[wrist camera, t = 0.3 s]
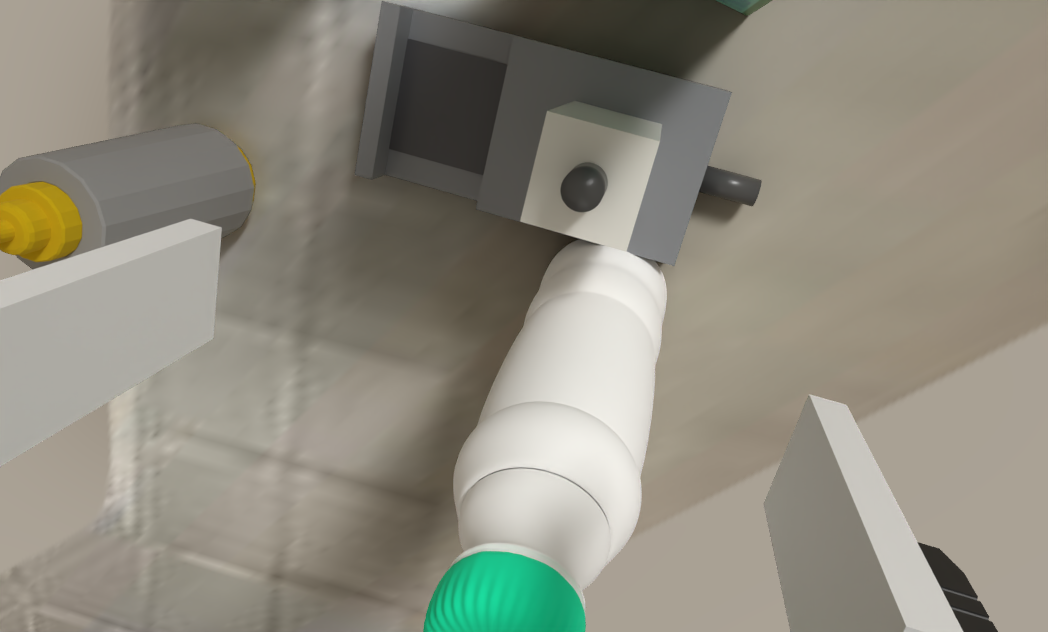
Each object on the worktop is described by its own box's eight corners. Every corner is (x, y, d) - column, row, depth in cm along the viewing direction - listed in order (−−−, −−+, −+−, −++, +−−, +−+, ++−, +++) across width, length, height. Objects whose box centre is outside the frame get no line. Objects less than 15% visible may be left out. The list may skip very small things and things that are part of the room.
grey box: (402, 5, 40) (271, -25, 27) (784, 105, 38) (844, 125, 25) (375, 167, 43) (246, 211, 30) (726, 267, 41) (752, 360, 28)
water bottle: (571, 352, 45) (441, 749, 23) (527, 251, 42) (335, 592, 21) (684, 323, 42) (652, 741, 21) (643, 214, 40) (561, 560, 18)
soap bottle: (193, 248, 47) (-70, 348, 30) (145, 141, 45) (-163, 186, 28) (284, 217, 45) (56, 306, 28) (237, 105, 43) (-35, 130, 27)
